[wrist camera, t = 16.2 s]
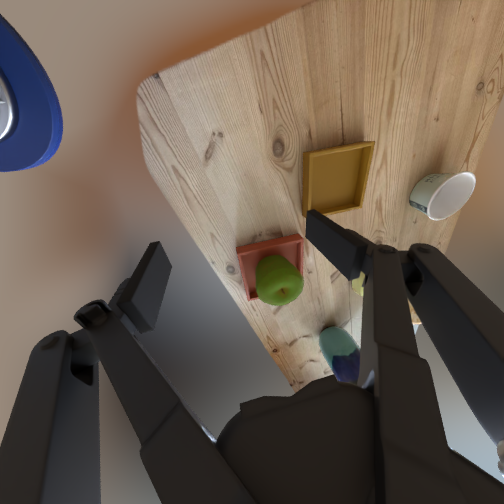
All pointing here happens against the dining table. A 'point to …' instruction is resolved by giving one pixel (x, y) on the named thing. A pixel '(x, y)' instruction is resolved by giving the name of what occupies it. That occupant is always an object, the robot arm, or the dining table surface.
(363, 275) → the banana
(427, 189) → the food container
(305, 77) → the dining table surface
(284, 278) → the apple
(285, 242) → the clay tray
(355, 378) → the vase
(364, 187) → the ochre tray
